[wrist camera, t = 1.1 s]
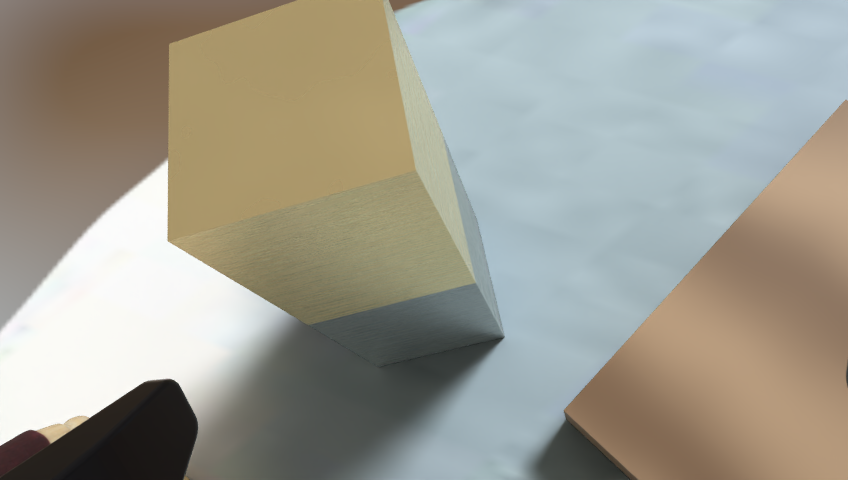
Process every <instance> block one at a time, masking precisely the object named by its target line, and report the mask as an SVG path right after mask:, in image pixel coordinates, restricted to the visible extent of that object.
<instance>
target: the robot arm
mask: <svg viewBox="0 0 848 480" xmlns="http://www.w3.org/2000/svg"><path fill="white" fill-rule="evenodd" d="M846 382H847V387H848V361H847V368H846ZM197 433H198V422H197V418H196V416H195V414H194V412H193V410H192V408H191V406H190V404H189V402H188V401H187V399H186V397H185V395H184V393H183V391H182V389H181V387H180V386H179V384H178V383H177V382H176V381H174V380H172V379H160V380H150V381H146V382H144V383H142V384H141V385H139V386H138V387H136V388H134V389H133V390H131V391H130V392H128V393H127V394H125V395H124V396H122V397H121V398H119V399H118V400H116V401H115V402H113V403H112V404H110V405H109V406H107V407H106V408H104V409H103V410H101V411H100V412H98V413H97V414H95V415H94V416H92V417H91V418H89V419H87V420H86V421H84V422H83V423H81V424H80V425H78V426H77V427H75V428H74V429H72V430H71V431H69V432H68V433H66V434H65V435H63V436H62V437H60V438H59V439H57V440H56V441H54V442H53V443H51V444H50V445H48V446H47V447H45V448H44V449H42V450H40V451H39V452H37V453H36V454H34V455H33V456H31V457H30V458H28V459H27V460H25V461H24V462H22V463H21V464H19V465H18V466H16V467H15V468H13V469H12V470H10V471H9V472H7V473H6V474H4V475H3V476H1V477H0V480H184V477H185V474H186V470H187V467H188V464H189V460H190V457H191V454H192V451H193V447H194V444H195V441H196V438H197Z"/></svg>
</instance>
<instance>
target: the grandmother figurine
mask: <svg viewBox="0 0 848 480" xmlns="http://www.w3.org/2000/svg"><path fill="white" fill-rule="evenodd" d="M87 419H89V418H88V417H86V416H77V417H74V418H71V419H69V420H68V421H67V422H65V423H64V424H55V425H51V426H48V427H45V428H43V429H40V430H37V431H34V430H28V431H26V432H24V433H22V434H20V435H18V436H16V437H15V438H13V439H12V440H10V441H8V442H6V443H5V444H3V445H1V446H0V477H1V476H3V475H4V474H6V473H7V472H9V471H10V470H12V469H13V468H15V467H16V466H18V465H19V464H21V463H22V462H24V461H25V460H27V459H28V458H30V457H31V456H33V455H34V454H36V453H37V452H39V451H40V450H42V449H44V448H45V447H47V446H48V445H50V444H51V443H53V442H54V441H56V440H57V439H59V438H60V437H62V436H63V435H65V434H66V433H68V432H69V431H71V430H72V429H74V428H75V427H77V426H78V425H80V424H81V423H83V422H84V421H86V420H87ZM184 480H190V479H189V478H188V477H186V476H185V477H184Z"/></svg>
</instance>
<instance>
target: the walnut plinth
mask: <svg viewBox="0 0 848 480" xmlns="http://www.w3.org/2000/svg"><path fill="white" fill-rule="evenodd" d="M847 361H848V101H847V100H845V101H844V102H843V103H842V104H841V105H840V106H839V108H838V109H837V110H836V111H835V112H834V113H833V114H832V115H831V116H830V117H829V119H828V120H827V121H826V122H825V123H824V124H823V125H822V126H821V127H820V128H819V130H818V131H817V132H816V133H815V134H814V135H813V136H812V137H811V138H810V140H809V141H808V142H807V143H806V144H805V145H804V146H803V147H802V148H801V149H800V151H799V152H798V153H797V154H796V155H795V156H794V157H793V158H792V159H791V160H790V162H789V163H788V164H787V165H786V166H785V167H784V168H783V169H782V170H781V171H780V173H779V174H778V175H777V176H776V177H775V178H774V179H773V180H772V181H771V183H770V184H769V185H768V186H767V187H766V188H765V189H764V190H763V191H762V192H761V194H760V195H759V196H758V197H757V198H756V199H755V200H754V201H753V202H752V203H751V205H750V206H749V207H748V208H747V209H746V210H745V211H744V212H743V213H742V214H741V216H740V217H739V218H738V219H737V220H736V221H735V222H734V223H733V224H732V225H731V227H730V228H729V229H728V230H727V231H726V232H725V233H724V234H723V235H722V237H721V238H720V239H719V240H718V241H717V242H716V243H715V244H714V245H713V246H712V248H711V249H710V250H709V251H708V252H707V253H706V254H705V255H704V256H703V257H702V259H701V260H700V261H699V262H698V263H697V264H696V265H695V266H694V267H693V268H692V270H691V271H690V272H689V273H688V274H687V275H686V276H685V277H684V278H683V280H682V281H681V282H680V283H679V284H678V285H677V286H676V287H675V288H674V289H673V291H672V292H671V293H670V294H669V295H668V296H667V297H666V298H665V299H664V300H663V302H662V303H661V304H660V305H659V306H658V307H657V308H656V309H655V310H654V311H653V313H652V314H651V315H650V316H649V317H648V318H647V319H646V320H645V321H644V323H643V324H642V325H641V326H640V327H639V328H638V329H637V330H636V331H635V332H634V334H633V335H632V336H631V337H630V338H629V339H628V340H627V341H626V342H625V343H624V345H623V346H622V347H621V348H620V349H619V350H618V351H617V352H616V353H615V354H614V356H613V357H612V358H611V359H610V360H609V361H608V362H607V363H606V364H605V365H604V367H603V368H602V369H601V370H600V371H599V372H598V373H597V374H596V375H595V377H594V378H593V379H592V380H591V381H590V382H589V383H588V384H587V385H586V386H585V388H584V389H583V390H582V391H581V392H580V393H579V394H578V395H577V396H576V397H575V399H574V400H573V401H572V402H571V403H570V404H569V405H568V406H567V407H566V408H565V410H564V413H565V417H566V419H567V420H568V421H569V422H570V423H571V424H572V425H573V426H574V427H575V428H576V429H577V430H578V431H579V432H580V433H582V434H583V435H584V436H585V437H586V438H587V439H588V440H589V441H590V442H591V443H592V444H593V445H594V446H595V447H597V448H598V449H599V450H600V451H601V452H602V453H603V454H604V455H605V456H606V457H607V458H608V459H609V460H610V461H612V462H613V463H614V464H615V465H616V466H617V467H618V468H619V469H620V470H621V471H622V472H623V473H624V474H625V475H627V476H628V477H629V478H630V479H631V480H848V387H847V382H846V368H847Z"/></svg>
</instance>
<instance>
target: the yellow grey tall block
mask: <svg viewBox="0 0 848 480" xmlns="http://www.w3.org/2000/svg"><path fill="white" fill-rule="evenodd" d="M168 139H169V140H168V142H169V143H168V242H170V243H172V244H173V245H175V246H177V247H178V248H180V249H182V250H183V251H185V252H187V253H188V254H190V255H192V256H193V257H195V258H197V259H198V260H200V261H202V262H203V263H205V264H207V265H208V266H210V267H212V268H213V269H215V270H217V271H218V272H220V273H222V274H224V275H225V276H227V277H229V278H230V279H232V280H234V281H235V282H237V283H239V284H240V285H242V286H244V287H245V288H247V289H249V290H250V291H252V292H254V293H255V294H257V295H259V296H260V297H262V298H264V299H265V300H267V301H269V302H270V303H272V304H274V305H275V306H277V307H279V308H280V309H282V310H284V311H285V312H287V313H289V314H290V315H292V316H294V317H295V318H297V319H299V320H300V321H302V322H304V323H305V324H307V325H309V326H310V327H312V328H314V329H315V330H317V331H319V332H321V333H322V334H324V335H326V336H327V337H329V338H331V339H332V340H334V341H336V342H337V343H339V344H341V345H342V346H344V347H346V348H347V349H349V350H351V351H352V352H354V353H356V354H357V355H359V356H361V357H362V358H364V359H366V360H367V361H369V362H371V363H372V364H374V365H376V366H377V367H379V366H384V365H388V364H392V363H396V362H401V361H405V360H409V359H413V358H418V357H422V356H426V355H430V354H435V353H439V352H443V351H447V350H452V349H456V348H460V347H464V346H469V345H473V344H477V343H481V342H486V341H490V340H494V339H498V338H503V337H505V336H504V332H503V328H502V324H501V319H500V315H499V311H498V307H497V302H496V298H495V294H494V290H493V286H492V281H491V277H490V273H489V269H488V264H487V260H486V256H485V252H484V247H483V243H482V239H481V235H480V231H479V226H478V222H477V218H476V216H475V213H474V211H473V208H472V206H471V204H470V201H469V199H468V196H467V194H466V191H465V189H464V186H463V184H462V181H461V179H460V176H459V174H458V171H457V169H456V166H455V164H454V161H453V159H452V156H451V154H450V152H449V149H448V147H447V144H446V142H445V139H444V137H443V134H442V132H441V129H440V127H439V124H438V122H437V119H436V117H435V114H434V112H433V109H432V107H431V104H430V102H429V99H428V97H427V95H426V92H425V90H424V87H423V85H422V82H421V80H420V77H419V75H418V72H417V70H416V67H415V65H414V62H413V60H412V57H411V55H410V52H409V50H408V47H407V45H406V42H405V40H404V38H403V35H402V33H401V30H400V28H399V25H398V23H397V20H396V18H395V15H394V13H393V10H392V8H391V6H390V3H389V1H388V0H297V1H294V2H291V3H288V4H286V5H283V6H280V7H277V8H274V9H271V10H268V11H265V12H262V13H259V14H256V15H253V16H250V17H247V18H244V19H241V20H238V21H235V22H233V23H230V24H227V25H224V26H221V27H218V28H215V29H212V30H209V31H206V32H203V33H200V34H197V35H194V36H191V37H189V38H186V39H183V40H180V41H177V42H174V43H171V44H169V137H168Z"/></svg>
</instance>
